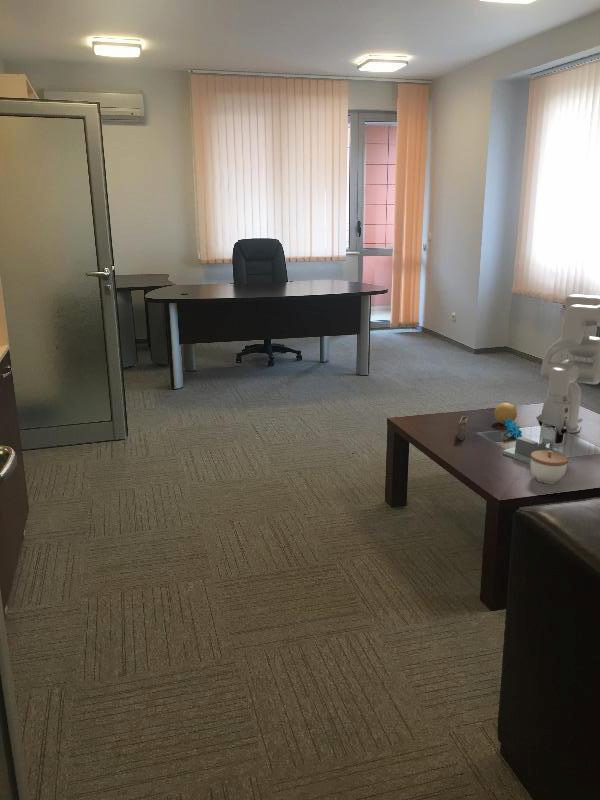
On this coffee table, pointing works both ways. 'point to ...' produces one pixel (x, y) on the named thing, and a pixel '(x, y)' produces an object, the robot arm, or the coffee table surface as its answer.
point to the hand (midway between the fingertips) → (551, 440)
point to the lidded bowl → (548, 465)
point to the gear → (512, 428)
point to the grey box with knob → (549, 436)
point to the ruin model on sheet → (463, 427)
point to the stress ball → (505, 412)
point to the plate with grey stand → (526, 449)
